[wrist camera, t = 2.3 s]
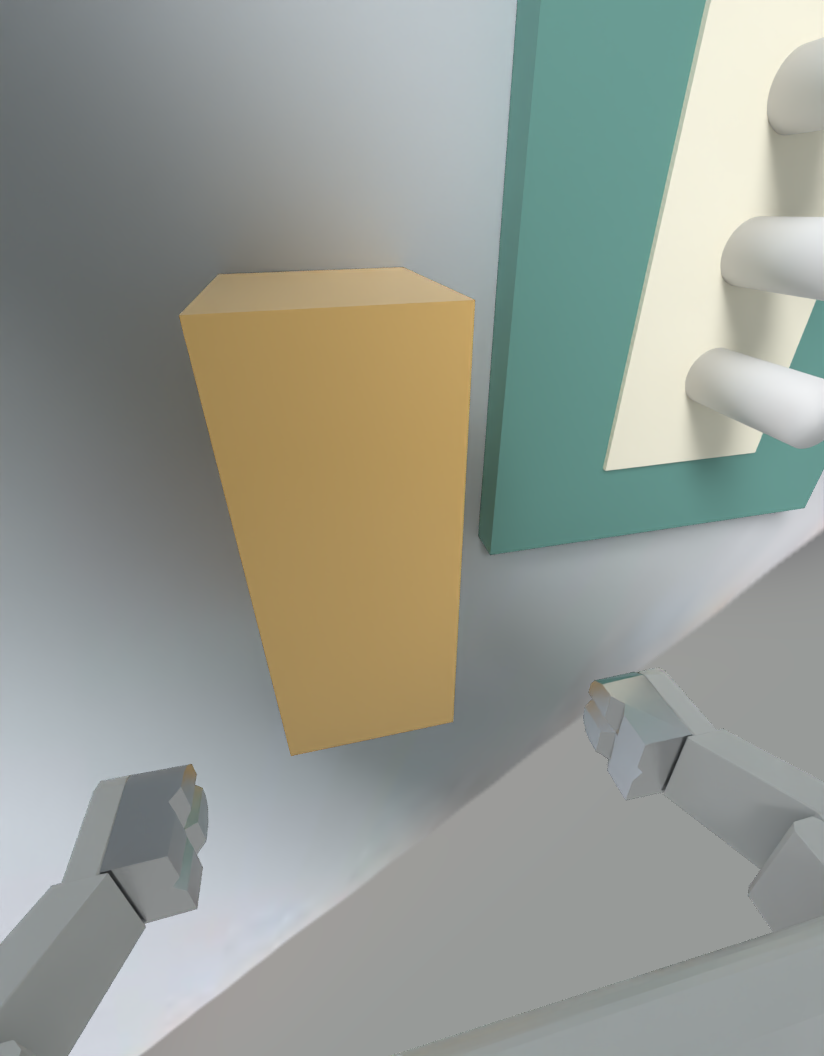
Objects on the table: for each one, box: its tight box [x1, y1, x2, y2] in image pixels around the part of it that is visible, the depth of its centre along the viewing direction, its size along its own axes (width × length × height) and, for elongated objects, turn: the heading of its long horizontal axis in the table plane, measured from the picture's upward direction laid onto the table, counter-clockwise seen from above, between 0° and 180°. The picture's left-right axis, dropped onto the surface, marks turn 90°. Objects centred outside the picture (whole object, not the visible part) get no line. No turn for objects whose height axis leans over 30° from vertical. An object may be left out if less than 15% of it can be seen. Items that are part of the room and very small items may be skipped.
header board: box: [479, 0, 824, 555], centre depth 15 cm, size 22×16×6 cm
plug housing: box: [179, 267, 475, 756], centre depth 16 cm, size 14×6×7 cm, turn 1°
